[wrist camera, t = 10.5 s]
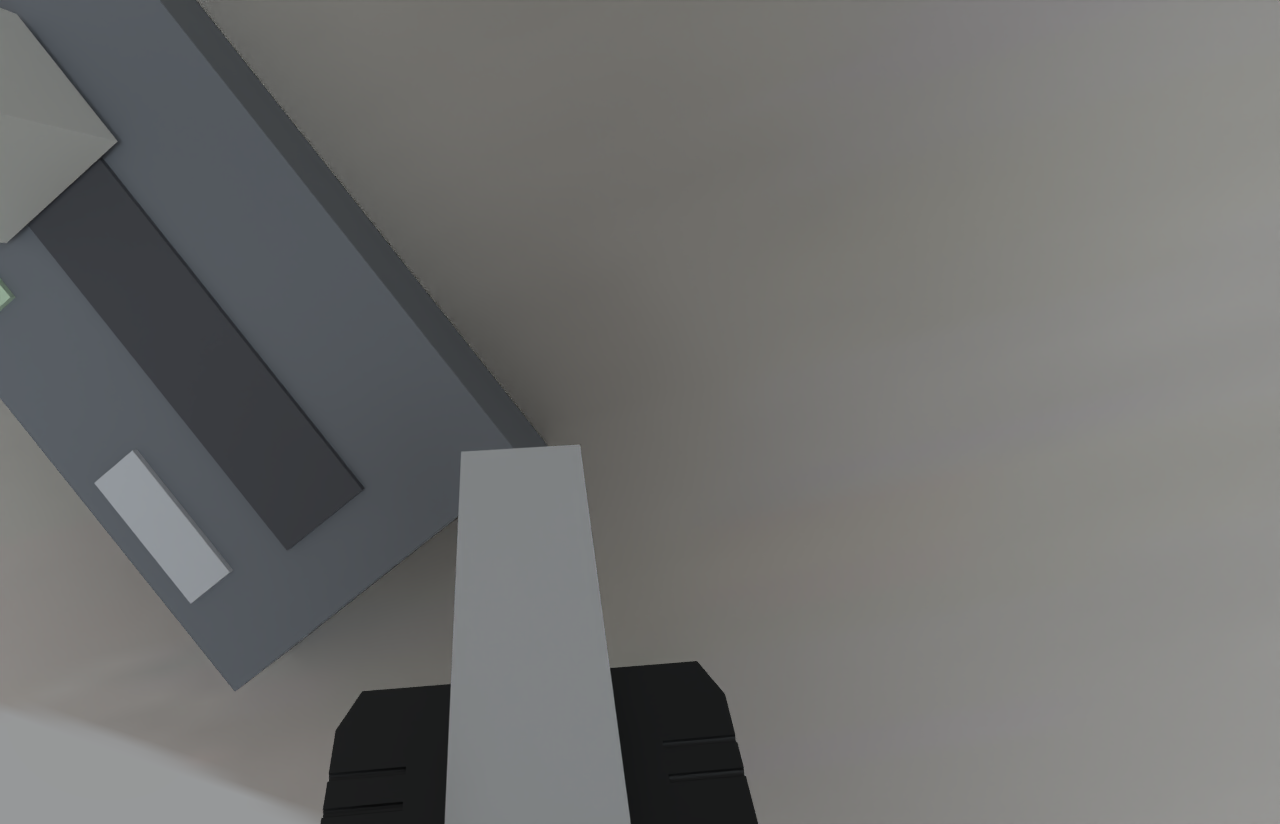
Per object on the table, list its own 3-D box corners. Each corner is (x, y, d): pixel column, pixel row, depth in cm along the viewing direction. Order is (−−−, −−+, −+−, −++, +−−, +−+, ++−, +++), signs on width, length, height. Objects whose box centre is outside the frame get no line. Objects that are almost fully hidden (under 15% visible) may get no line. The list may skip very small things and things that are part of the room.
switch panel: (-108, 164, 32) (-205, 149, 28) (140, -71, 30) (66, -114, 27) (283, 654, 32) (231, 694, 29) (547, 446, 30) (523, 463, 27)
